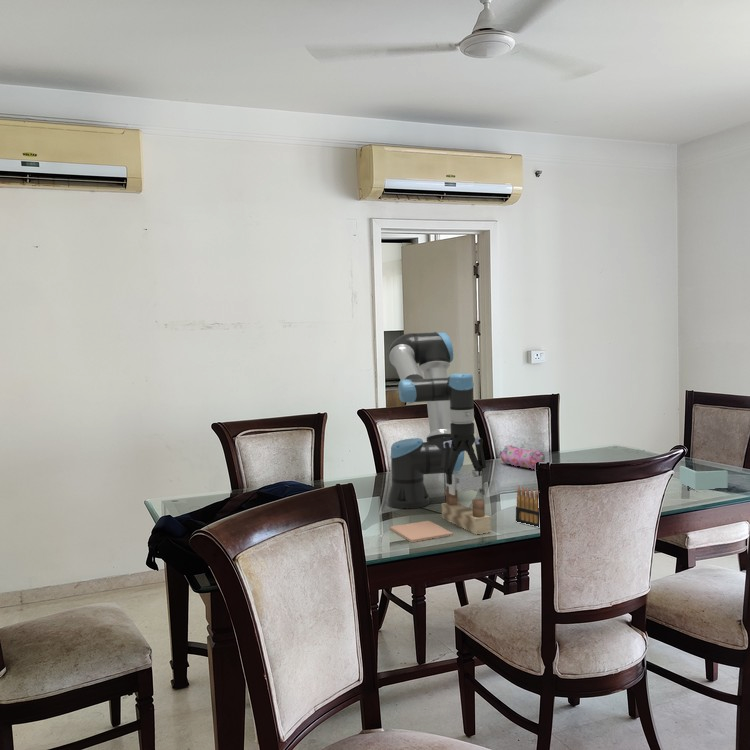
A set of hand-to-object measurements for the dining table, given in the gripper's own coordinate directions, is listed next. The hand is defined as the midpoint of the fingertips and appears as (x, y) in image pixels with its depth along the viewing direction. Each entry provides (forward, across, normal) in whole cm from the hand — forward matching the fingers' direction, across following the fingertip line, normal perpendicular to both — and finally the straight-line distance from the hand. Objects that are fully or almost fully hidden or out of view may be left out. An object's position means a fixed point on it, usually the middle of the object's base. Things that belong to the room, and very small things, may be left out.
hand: (464, 492), depth 220 cm
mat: (+11, -16, 0) cm, 19 cm away
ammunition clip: (+11, +18, -10) cm, 23 cm away
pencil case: (+12, +68, +67) cm, 96 cm away
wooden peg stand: (+11, 0, 0) cm, 11 cm away
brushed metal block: (-2, 0, 0) cm, 2 cm away
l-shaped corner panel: (+11, +102, -2) cm, 102 cm away
